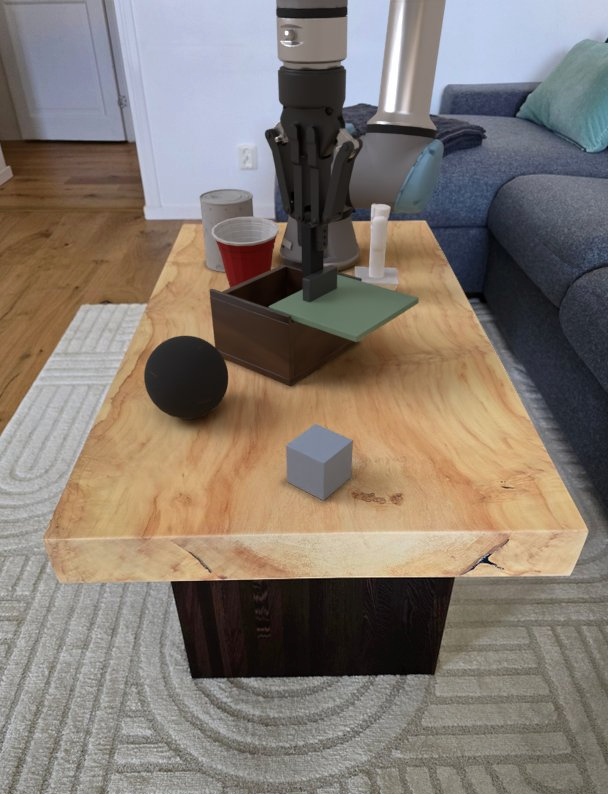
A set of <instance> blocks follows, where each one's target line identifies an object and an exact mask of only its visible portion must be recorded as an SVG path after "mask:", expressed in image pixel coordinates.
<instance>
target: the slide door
mask: <svg viewBox="0 0 608 794" xmlns="http://www.w3.org/2000/svg"><path fill="white" fill-rule="evenodd" d="M337 270H338V267H336V266H333V265H329V266H327V267H325V268H323V269H321V270H319V271H317V272H315V273H313V274H311V275H309V276H307V277H304V278H303V290H301V291H299V292H297V293H295V294H293V295H291V296H289V297H287V298H284V299H282V300H280V301H278V302H276V303H274V304H272V305H270V306H269V308H270V309H273V310H276V311H279V312H282V313H284V314H287V315H290V316H291V320H294V321H297V322H299V323H302V324H305V325H308V326H311V327H314V328H317V329H320V330H322V331H325V332H328V333H331V334H334V335H337V336H340V337H343V338H345V339H348V340H351V341H354V342H358V341H359V342H360V341H361V340H362V339H364V338H366V337H367V336H369V335H370V334H373V332H375V331H377V330H379V329H380V328H381V327H383V326H385V325H386V324H388V323H389V322H391V321H393V320H394V319H396V318H397V317H399V316H400V315H402V314H404V313H405V312H408V311H409V310H410V309H412V308H413V307H415V306H417V305H418V304H419V301H420V298H419V297H418V296H414V295H411V294H407V293H404V292H400V291H396V290H390V289H387V288H383V287H380V286H376V285H373V284H369V283H366V282H362V281H359V280H355V279H352V278H348V277H345V276H341V275H338V274H337V272H338V271H337Z"/></svg>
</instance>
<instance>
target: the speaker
mask: <svg viewBox="0 0 608 794" xmlns="http://www.w3.org/2000/svg"><path fill="white" fill-rule="evenodd" d="M143 381H144V386H145V390H146V393H147V395H148V398H150V400H151V401H152V403H153V405H154V406H156V407H157V408H158V409H159V410H160V411H161V412H163V413H164V414H166V415H168V416H171V417H173V418H177V419H181V420H194V419H198V418H201V417H204V416H206V415H208V414H209V413H211V412H213V411H214V410H215V409H216V408H217V407H218V406H220V404H221V403H222V401H223V400H224V398H225V396H226V393H227V390H228V387H229V371H228V365H227V363H226V361H225V359H224V358H223V357H222V355H221V354H220V352H219V351H218V350H217V349H216V348H215V345H213V344H212V343H210V342H208V340H206V339H203V338H200V337H197V336H194V335H178V336H177V335H176V336H174V337H171V338H168V339H166V340H164V341H162V342H161V343H160V344H158V345H157V346H156V347H155V348H154V349H153V350H152V351H151V353H150V355H149V357H148V358H147V361H146V363H145V366H144V372H143Z"/></svg>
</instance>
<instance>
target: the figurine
mask: <svg viewBox="0 0 608 794" xmlns="http://www.w3.org/2000/svg"><path fill="white" fill-rule="evenodd" d="M390 213H391V212H390V206H388V205H385V204H372V206H371V209H370V225H369V230H370V239H369V240H370V243H369V263H368V266H354V275H353V276H355V277H358V278H362V282H366V283H369V284H373V285H376V286H380V287H383V288H387V289H390V290H394V291H396V290H397V287H398V286H399V272H398V271H399V270H398V267H389V266H388V267H385V266H386V265H385V264H386V252H387V251H386V250H387V241H388V226H389V225H388V223H389V218H390Z"/></svg>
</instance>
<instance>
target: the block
mask: <svg viewBox="0 0 608 794" xmlns="http://www.w3.org/2000/svg"><path fill="white" fill-rule="evenodd" d="M353 447H354V440H353V439H351V438H349V437H347V436H344V435H342V434H340V433H338V432H335V431H333V430H331V429H328V428H326V427H324V426H322V425H319V424H317V423H315V424H313V425H311V426H310V427H309V428H308V429H306V430H305V431H303V432H302V433H300V434H299V435H298V436H296V437H295V438H294V439H292V440H291V441H289V442H288V443H287V444H286V445H285V453H286V454H285V455H286V456H285V457H286V482H287V483H289V484H290V485H293V486H294V487H296V488H299V489H300V490H302V491H304V492H306V493H308V494H310V495H312V496H314V497H315V498H317V499H319V500H321V501H325V500H326V499H328V498H329V497H330V496H331V495H333V494H334V492H336V491H338V489H339V488H340V487H342V486H343V485H344V484H345V483H347V481H348V480H350V479H351V478H352V470H353V451H354V450H353V449H354V448H353Z"/></svg>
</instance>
